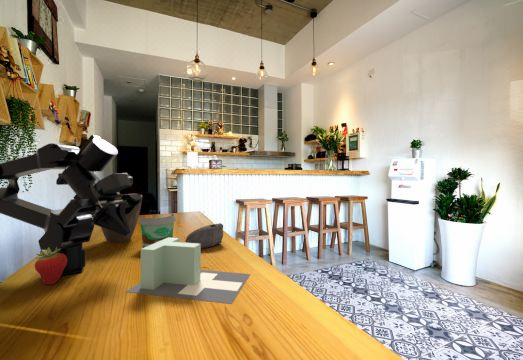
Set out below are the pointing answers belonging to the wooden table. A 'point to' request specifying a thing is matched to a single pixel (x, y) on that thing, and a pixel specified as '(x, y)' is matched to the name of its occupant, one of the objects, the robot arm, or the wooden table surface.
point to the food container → (156, 229)
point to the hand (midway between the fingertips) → (128, 234)
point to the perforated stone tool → (207, 235)
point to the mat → (201, 287)
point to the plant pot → (132, 221)
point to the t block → (170, 263)
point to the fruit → (50, 265)
